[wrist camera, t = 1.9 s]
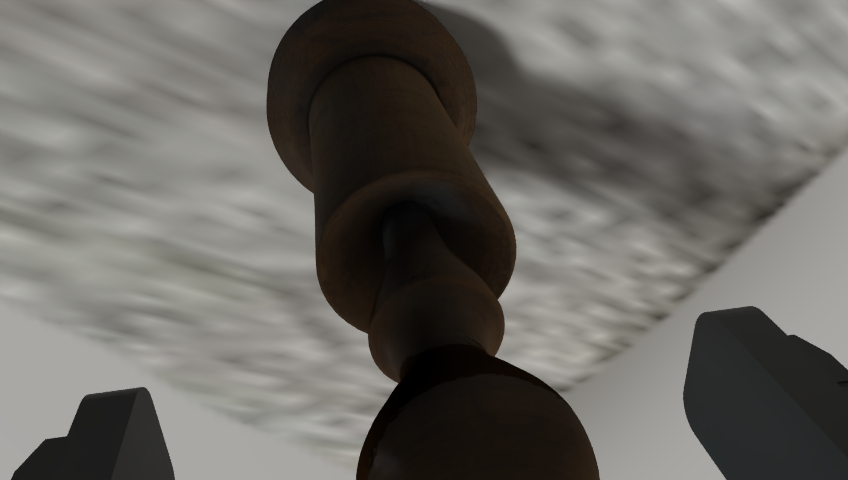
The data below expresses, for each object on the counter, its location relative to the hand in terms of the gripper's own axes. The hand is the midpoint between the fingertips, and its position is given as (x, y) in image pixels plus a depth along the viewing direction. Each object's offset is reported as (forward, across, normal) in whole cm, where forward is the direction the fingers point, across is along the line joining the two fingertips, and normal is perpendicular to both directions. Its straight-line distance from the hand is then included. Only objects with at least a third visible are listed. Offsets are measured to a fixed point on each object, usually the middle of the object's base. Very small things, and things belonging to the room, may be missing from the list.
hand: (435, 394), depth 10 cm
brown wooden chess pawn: (+15, 0, 0) cm, 15 cm away
